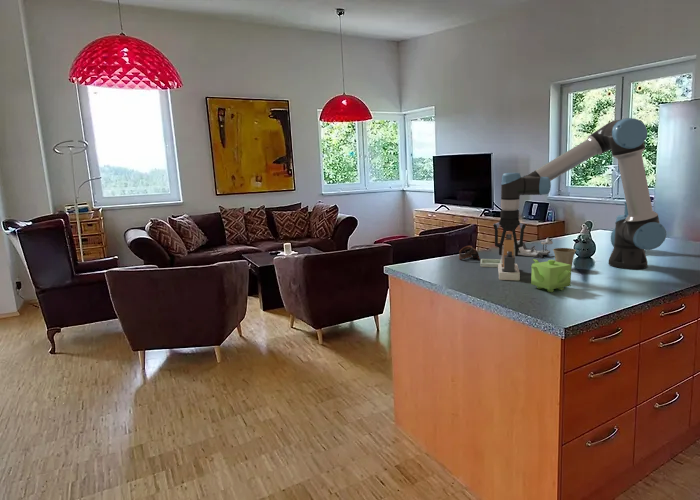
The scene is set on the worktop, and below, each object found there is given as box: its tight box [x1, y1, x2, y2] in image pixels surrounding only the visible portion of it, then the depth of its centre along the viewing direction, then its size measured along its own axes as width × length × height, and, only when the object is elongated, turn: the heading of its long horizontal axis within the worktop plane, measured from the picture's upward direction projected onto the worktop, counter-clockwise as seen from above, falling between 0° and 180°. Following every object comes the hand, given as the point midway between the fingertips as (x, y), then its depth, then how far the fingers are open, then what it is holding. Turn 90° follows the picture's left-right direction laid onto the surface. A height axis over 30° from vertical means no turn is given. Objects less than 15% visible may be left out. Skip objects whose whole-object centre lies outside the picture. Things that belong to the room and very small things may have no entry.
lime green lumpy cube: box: [530, 258, 573, 293], centre depth 180 cm, size 15×14×11 cm
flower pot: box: [552, 247, 577, 269], centre depth 211 cm, size 9×9×9 cm
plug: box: [503, 233, 514, 267], centre depth 206 cm, size 4×5×14 cm
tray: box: [479, 258, 501, 268], centre depth 222 cm, size 10×11×2 cm
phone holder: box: [514, 237, 554, 259], centre depth 241 cm, size 18×10×12 cm
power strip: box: [497, 251, 521, 281], centre depth 203 cm, size 8×18×11 cm, turn 164°
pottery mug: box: [458, 245, 481, 261], centre depth 236 cm, size 12×10×8 cm
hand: (508, 262), depth 208 cm, fingers closed on plug, 4 cm apart
